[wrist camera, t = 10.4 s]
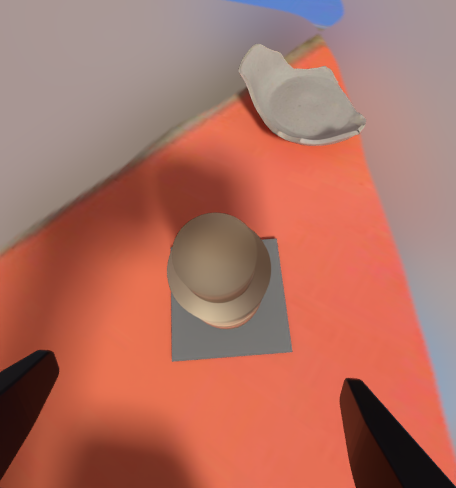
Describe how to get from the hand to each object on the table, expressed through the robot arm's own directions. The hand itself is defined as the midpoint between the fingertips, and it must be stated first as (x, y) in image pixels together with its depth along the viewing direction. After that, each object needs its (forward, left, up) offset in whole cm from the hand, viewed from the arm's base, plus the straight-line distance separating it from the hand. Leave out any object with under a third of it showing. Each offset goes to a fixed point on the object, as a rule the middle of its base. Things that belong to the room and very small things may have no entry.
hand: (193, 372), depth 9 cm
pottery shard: (+21, -9, -14) cm, 27 cm away
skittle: (+4, -1, -13) cm, 14 cm away
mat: (+4, -1, -14) cm, 14 cm away
